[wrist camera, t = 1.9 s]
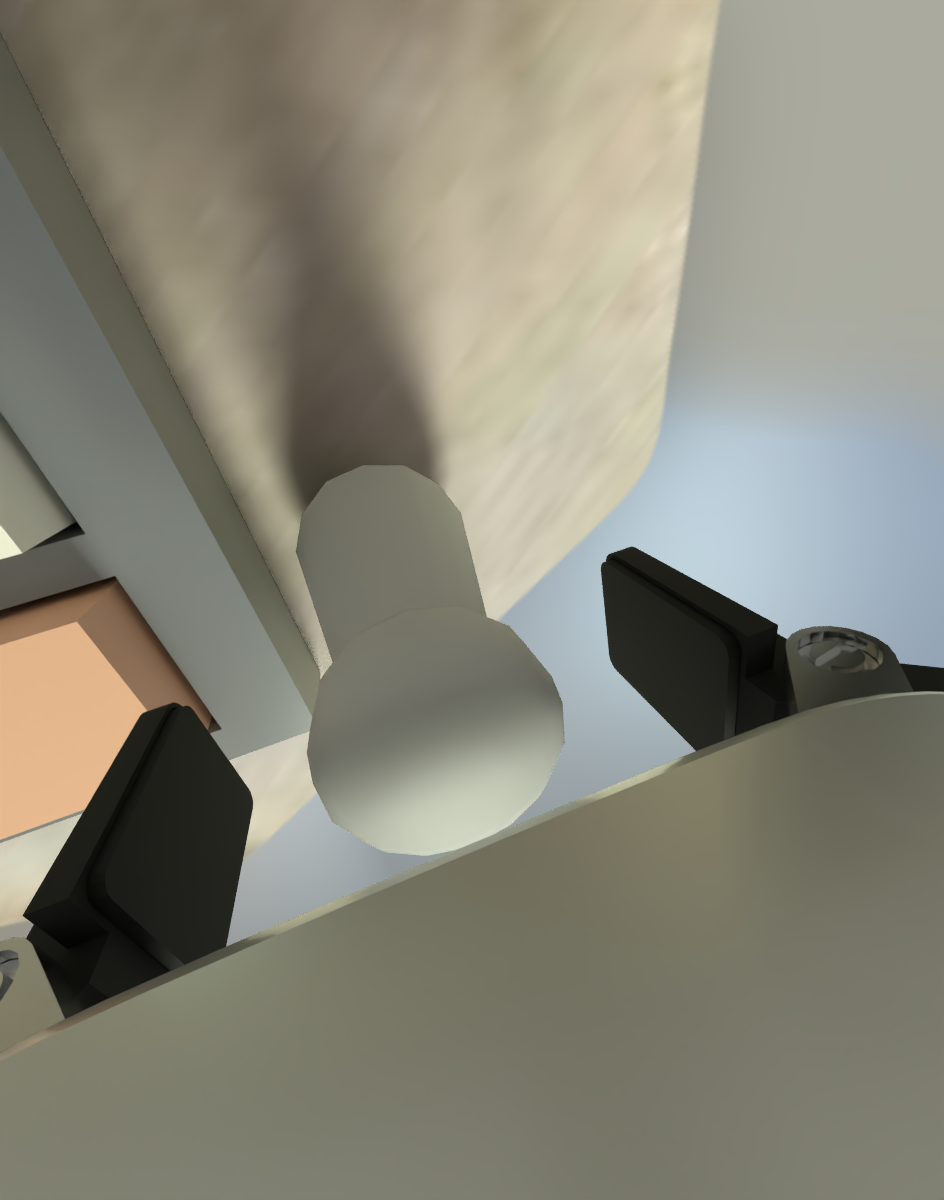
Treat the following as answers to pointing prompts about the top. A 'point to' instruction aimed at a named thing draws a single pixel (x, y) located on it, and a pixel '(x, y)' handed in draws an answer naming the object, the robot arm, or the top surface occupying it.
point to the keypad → (128, 456)
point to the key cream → (25, 498)
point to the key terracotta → (75, 697)
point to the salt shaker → (417, 673)
